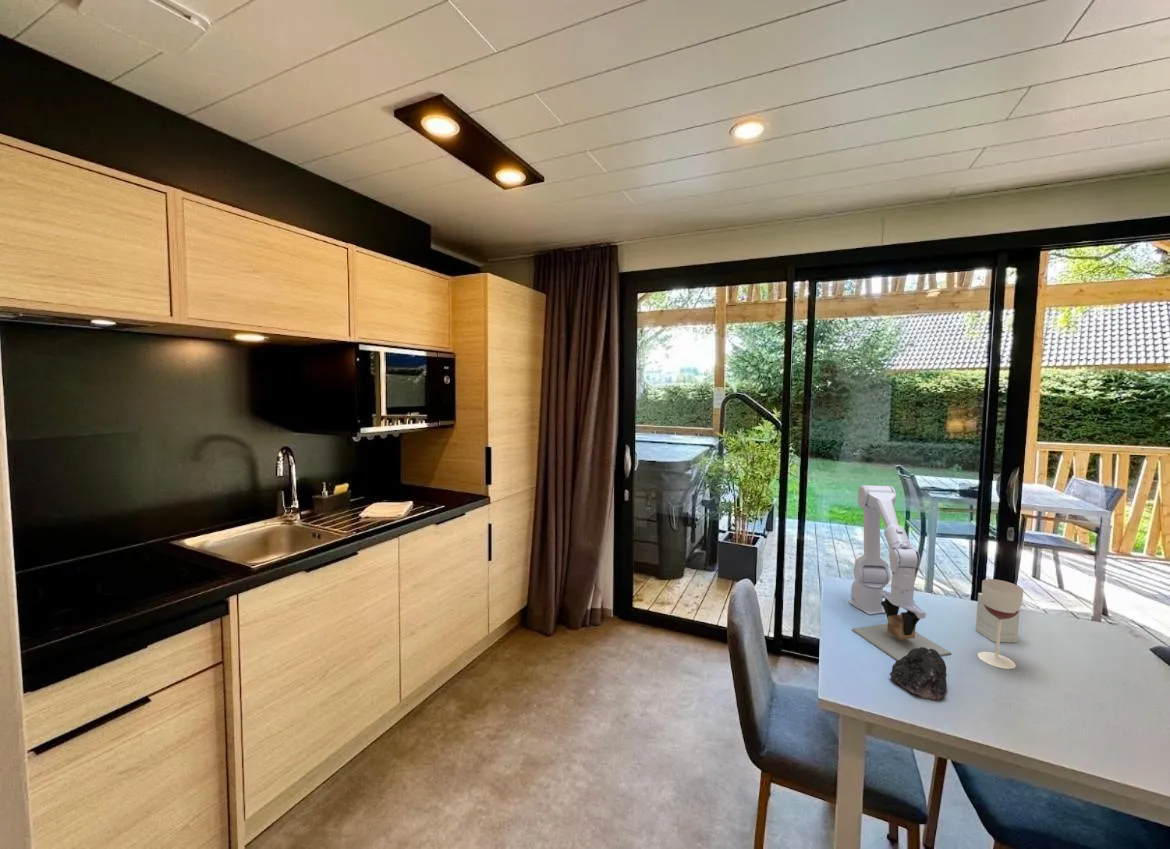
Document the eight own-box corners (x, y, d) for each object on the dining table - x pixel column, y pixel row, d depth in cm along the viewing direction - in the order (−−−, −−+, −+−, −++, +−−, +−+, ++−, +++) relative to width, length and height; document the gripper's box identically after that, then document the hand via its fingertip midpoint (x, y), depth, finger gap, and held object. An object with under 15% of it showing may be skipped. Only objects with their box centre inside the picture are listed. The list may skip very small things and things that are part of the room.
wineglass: (981, 664, 135) (987, 589, 133) (972, 647, 144) (978, 576, 141) (1021, 673, 131) (1028, 596, 129) (1010, 655, 139) (1017, 582, 137)
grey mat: (851, 630, 154) (851, 628, 154) (898, 623, 158) (898, 622, 157) (899, 662, 136) (899, 660, 136) (951, 654, 140) (951, 652, 140)
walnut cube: (887, 631, 149) (888, 615, 148) (900, 629, 150) (901, 614, 149) (900, 639, 144) (902, 624, 143) (914, 638, 145) (915, 622, 144)
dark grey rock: (903, 701, 121) (910, 666, 120) (878, 665, 135) (884, 633, 133) (960, 709, 120) (968, 674, 118) (929, 672, 133) (936, 640, 131)
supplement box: (1018, 642, 146) (1021, 603, 145) (993, 642, 146) (996, 603, 145) (998, 630, 153) (1001, 592, 152) (974, 630, 154) (977, 592, 152)
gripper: (935, 596, 139) (932, 640, 140) (893, 576, 153) (891, 616, 154) (915, 598, 137) (912, 643, 139) (874, 578, 152) (872, 619, 153)
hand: (899, 629), depth 147 cm, fingers closed on walnut cube, 5 cm apart
